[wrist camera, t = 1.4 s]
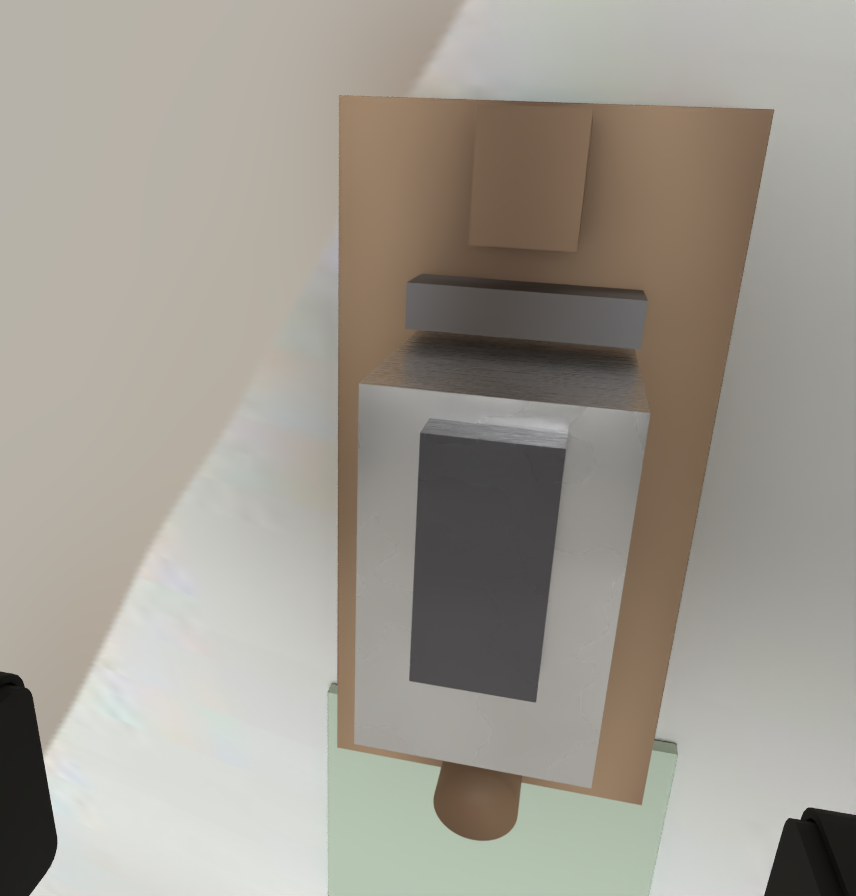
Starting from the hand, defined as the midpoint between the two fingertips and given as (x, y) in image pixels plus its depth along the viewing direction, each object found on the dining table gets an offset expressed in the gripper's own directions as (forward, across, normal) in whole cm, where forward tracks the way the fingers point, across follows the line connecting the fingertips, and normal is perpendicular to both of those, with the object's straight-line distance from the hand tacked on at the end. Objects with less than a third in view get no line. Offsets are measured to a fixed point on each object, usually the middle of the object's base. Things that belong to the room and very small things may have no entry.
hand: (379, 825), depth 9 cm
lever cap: (+10, -1, 0) cm, 11 cm away
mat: (+14, -1, +15) cm, 21 cm away
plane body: (+14, -1, 0) cm, 15 cm away
